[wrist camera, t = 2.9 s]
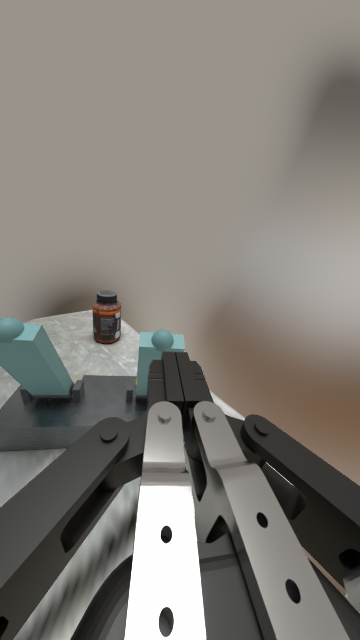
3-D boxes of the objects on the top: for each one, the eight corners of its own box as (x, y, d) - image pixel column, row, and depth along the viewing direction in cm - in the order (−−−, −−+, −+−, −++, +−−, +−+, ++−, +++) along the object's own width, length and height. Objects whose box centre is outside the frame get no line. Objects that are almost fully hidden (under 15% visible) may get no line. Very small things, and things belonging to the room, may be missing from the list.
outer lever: (135, 400, 25) (139, 341, 15) (136, 385, 26) (141, 322, 16) (164, 400, 26) (187, 344, 15) (164, 386, 27) (185, 326, 17)
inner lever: (35, 400, 22) (-42, 330, 12) (42, 384, 24) (-22, 309, 14) (70, 400, 23) (26, 335, 13) (75, 385, 24) (38, 314, 14)
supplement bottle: (125, 340, 44) (126, 296, 40) (100, 347, 40) (99, 299, 35) (113, 329, 48) (113, 287, 43) (89, 335, 44) (87, 290, 39)
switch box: (-6, 451, 20) (-23, 414, 18) (34, 394, 28) (26, 361, 25) (184, 442, 25) (192, 411, 22) (176, 394, 32) (182, 367, 29)
